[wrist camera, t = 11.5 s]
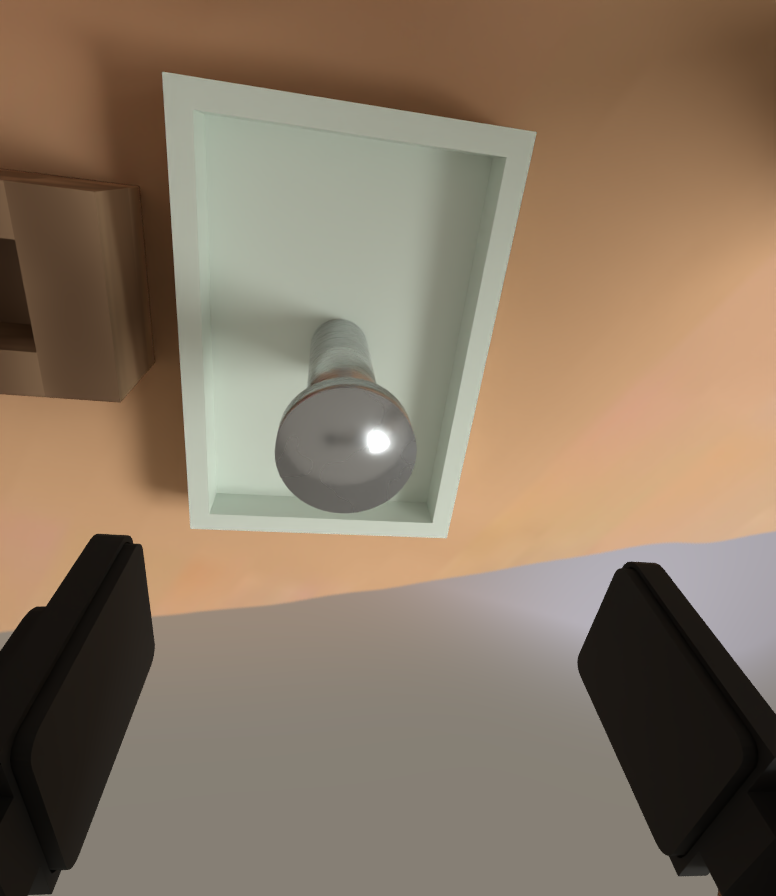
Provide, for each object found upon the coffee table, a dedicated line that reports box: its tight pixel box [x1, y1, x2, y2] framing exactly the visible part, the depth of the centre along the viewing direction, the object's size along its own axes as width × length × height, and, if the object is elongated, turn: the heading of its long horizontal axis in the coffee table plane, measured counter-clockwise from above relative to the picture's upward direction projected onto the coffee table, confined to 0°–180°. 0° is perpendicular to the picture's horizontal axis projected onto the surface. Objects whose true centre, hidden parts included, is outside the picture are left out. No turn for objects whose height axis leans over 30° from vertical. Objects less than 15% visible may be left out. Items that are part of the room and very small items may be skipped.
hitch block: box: [0, 169, 155, 402], centre depth 21 cm, size 10×8×5 cm
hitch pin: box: [275, 319, 417, 513], centre depth 21 cm, size 4×4×11 cm
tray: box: [162, 72, 537, 538], centre depth 25 cm, size 20×14×3 cm
